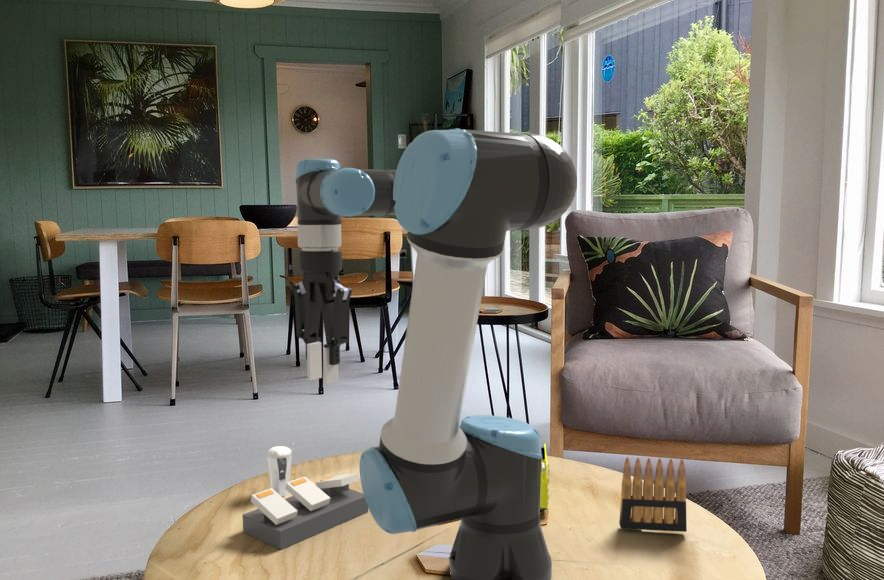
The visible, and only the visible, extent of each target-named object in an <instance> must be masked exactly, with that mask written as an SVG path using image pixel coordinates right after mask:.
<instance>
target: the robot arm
mask: <svg viewBox="0 0 884 580" xmlns="http://www.w3.org/2000/svg"><path fill="white" fill-rule="evenodd" d="M295 184H296V207H297V208H296V213H297V247H298V248H299V249H300V248H301V250H299V251H298V253H297V255H298V256H297V257H298V258H297V259H298V270H299V272H301V273H303V275H302V279H301V281H299V283H292V285H291V291H292V293H293V297H294V307H295V308H294V311H295V312H294V313H295V328H296V329H295V330H296V337H297V339H301V340H303V342H304V344H305V359H306V363H307V365H306V366H307V368H306V370H307V380H308V381H314V380H317V379H323V384H324V385H325V384H326V385H330V384H333V383H337V382H339V365H340V362H341V355H340V353H341V351H340V349H341V345H344V344H348V343H349V340H350V338H349V337H350V336H349V334H350V333H349V332H350V330H349V329H350V299H351V297H352V292H353V290H352V288H351V287H348V286H347V287H345V286H343V285H342V284H341V279H340V276H339V273H340V272H341V271H342V270H343V251H341V249H339V248H340V247H342V246H343V245H342V217H343V218H345V217H349V218H350V217H356V216H357V217H358V216H395V217H396V220H397V222H398V224H399V226H401V228H402V229H403V230H404V231H407V233H406V240H407V241H408V244H409V245H410V246H411V247H412V248H413V250H415V252H416V260H415V261H416V262H415V268H414V274H413V275H414V276H413V282H412V288H411V289H412V290H411V296H410V297H411V298H410V302H409V310H408V311H409V312H408V318H407V325H406V326H407V327H406V333H405V338H404V339H405V340H404V346H403V354H402V360H401V361H402V363H401V370H400V376H399V383H398V388H397V389H398V390H397V398H396V405H395V410H394V411H395V412H394V417H391V418H390V419H388V420H387V421H386V422H385V423H384V425H382V428H381V431H380V439H379V444H378V446H376V447H375V446H370V447H369V448H367V449H365V450H364V451H363V452H362V453H361V455H360V459H359V466H358V467H359V480H360V483H361V489H362V493H363V494H364V497H365V500H366V503H367V506H368V511H369V512H370V514H371V517H372V518H373V520H374V521H375V523H376V524H377V526H378V527H379V528H380V529H382V531H384V532H386V533H387V534H391V535H396V534H397V535H398V534H403V533H410V532H411V533H414V532H417V531H419V530H422V529H426V528H430V527H435V526H438V525H442V524H445V523H449V522H454V521H457V520H460V522H459V523H460V524H459V527H458V530H457V531H456V532H457V533H456V534H455V535H456V536H455V538H454V541H453V545H452V548H451V552H450V554H449V557H448V558H449V560H448V562H449V563H448V568H449V567H450V572H451V577H450V579H451V580H552V577H553V574H552V572H553V571H552V570H553V568H552V566H553V565H552V563H553V562H552V561H553V560H552V556H551V555H550V553H549V548H548V546H547V545H548V544H547V542H546V539H545V536H544V532H543V529H542V526H541V512H540V495H541V459H542V454H541V447H542V443H541V442H542V439H541V435H540V433H539V431H538V430H537V428H535V426H533V425H532V424H529V423H527V422H525V421H522V420H520V419H519V420H518V419H516V418H512V417H506V416H500V415H489V414H477V415H469V416H466V417H465V418H462V420H461V415H462V412H463V411H462V410H463V406H464V405H463V404H464V400H465V393H466V388H467V383H468V376H469V371H470V367H471V366H470V364H471V359H472V354H473V349H474V343H475V336H476V330H477V327H478V326H477V325H478V322H479V321H478V319H479V315H480V309H481V302H482V298H483V290H484V287H485V286H484V285H485V282H486V281H485V280H486V275H487V270H488V265H489V264H490V263H491V262H492V261H494V260H496V259H498V258H499V257H501V255H502V253H503V251H504V244H505V240H506V236H507V235H506V234H507V232H509V231H510V232H511V231H527V230H534V229H538V228H543V227H546V226H547V225H548V226H549V225H551V224H552V223H554V222H556V221H557V220H558V219H560V218H561V217H562V216H563V215H565V213H566V212H567V211H568V210H569V208H570V207H571V206H572V203H573V202H574V198H575V196H576V192H577V188H578V175H577V170H576V167H575V164H574V162H573V160H572V158H571V156H570V155H569V154H568V151H566V149H565V148H564V147H562V146H561V145H560V144H559V143H557V142H555V141H554V140H553V139H550V138H549V137H547V136H544V135H541V134H537V133H530V132H529V133H528V132H521V133H520V132H518V133H516V132H503V131H492V130H491V131H490V130H488V131H487V130H476V129H475V130H474V129H464V128H463V129H461V128H458V127H457V128H450V129H433V130H427V131H424V132H422V133H420V134H418V135H417V136H416V137H414V139H413V140H412V142H410V143H409V144H408V145H407V146H406V148H405V150H404V151H403V153H402V155H401V157H400V159H399V161H398V164H397V167H396V169H367V168H365V169H364V168H362V169H361V168H360V169H357V168H355V167H344V166H343V167H341V164H340V163H339V161H338V160H336V159H330V158H308V159H300V160H299V161H298V162H297V163H296V177H295ZM321 314H322V315H321ZM321 316H322V321H323V322H322V323H323V328H324V329H323V330H324V334H325V335H324V336H325V343H326V344H323V348H322V341H321V340H322V337H319V332H320V331H319V330H320V323H321V322H320V321H321ZM322 349H323V353H322ZM322 354H323V356H322ZM322 357H323V359H322ZM322 360H323V361H322ZM322 365H323V366H322Z"/></svg>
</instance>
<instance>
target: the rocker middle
mask: <svg viewBox="0 0 884 580" xmlns="http://www.w3.org/2000/svg"><path fill="white" fill-rule="evenodd" d="M285 489H286V490H287V491H288V492H289V494H291V496H294V497H295V498H296V499H297V500H299V501H300V502H301V503H302V504H303V505H304V506H305V507H307V508H308V509H309V510H310V511H312V510H315V509H317V508H320V507H322V506H325V505H327V504H329V502H330V497H329V496H328V495H327V494H325V493H324V492H323V491H322V490H321V489H319V488H318V487H317V486H316V483H314V482H313V481H311V480H310V479H309V478H307V477H306V476H302V477H299V478H296V479H294V480H290V482H287V483H286V487H285Z"/></svg>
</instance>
